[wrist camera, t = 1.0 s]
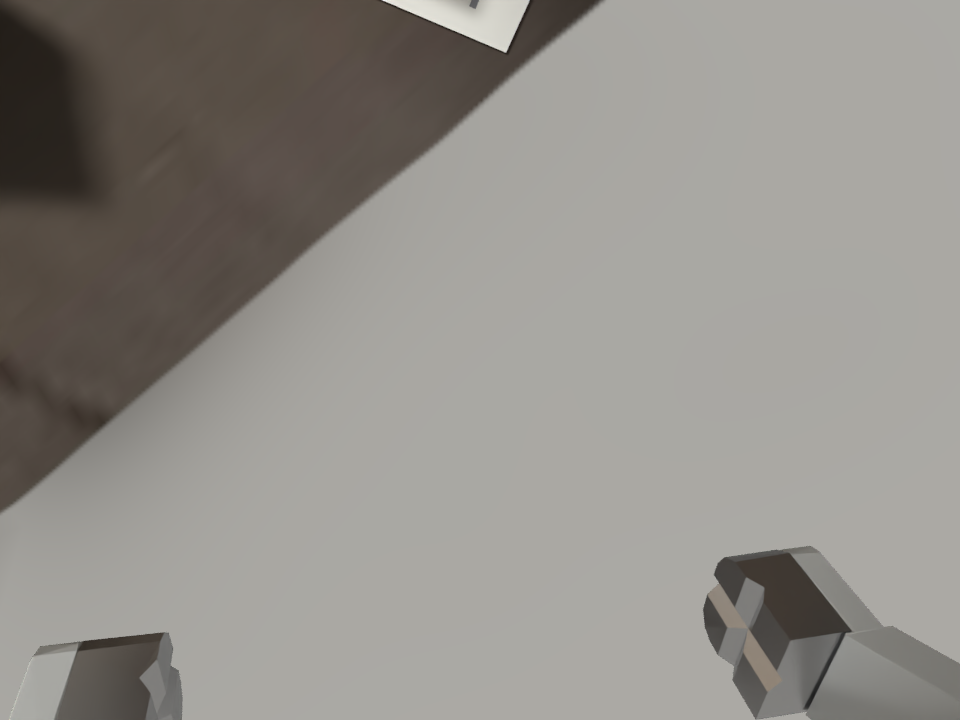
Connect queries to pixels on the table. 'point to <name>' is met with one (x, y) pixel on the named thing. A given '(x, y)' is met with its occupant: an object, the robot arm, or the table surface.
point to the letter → (472, 17)
